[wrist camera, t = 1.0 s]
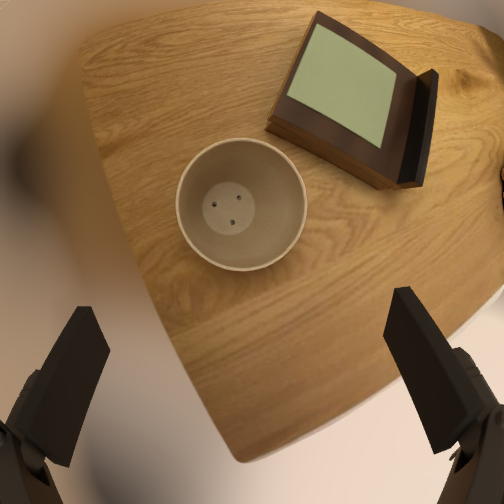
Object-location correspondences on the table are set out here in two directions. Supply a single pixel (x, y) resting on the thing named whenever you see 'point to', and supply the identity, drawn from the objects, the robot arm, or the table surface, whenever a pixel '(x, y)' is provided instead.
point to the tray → (357, 107)
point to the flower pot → (241, 204)
